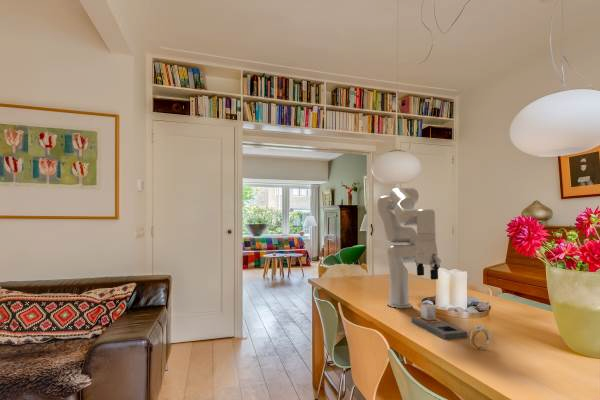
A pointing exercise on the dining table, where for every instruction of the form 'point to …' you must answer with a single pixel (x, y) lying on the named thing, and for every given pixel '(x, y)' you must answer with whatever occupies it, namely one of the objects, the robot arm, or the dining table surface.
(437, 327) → the dark grey socket board
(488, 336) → the bracelet
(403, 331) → the dining table surface
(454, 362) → the dining table surface
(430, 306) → the peg
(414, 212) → the robot arm
